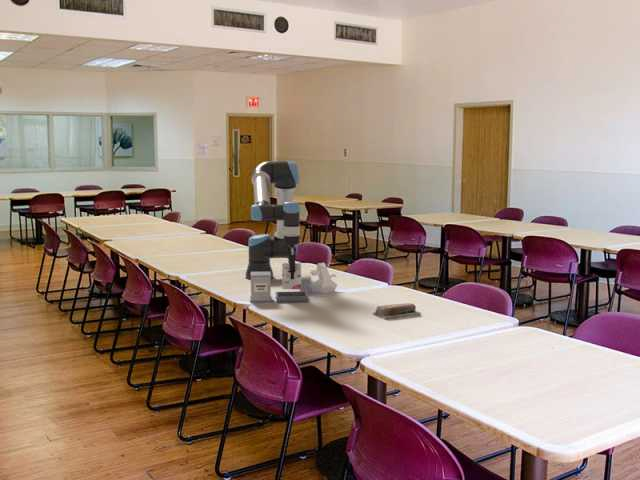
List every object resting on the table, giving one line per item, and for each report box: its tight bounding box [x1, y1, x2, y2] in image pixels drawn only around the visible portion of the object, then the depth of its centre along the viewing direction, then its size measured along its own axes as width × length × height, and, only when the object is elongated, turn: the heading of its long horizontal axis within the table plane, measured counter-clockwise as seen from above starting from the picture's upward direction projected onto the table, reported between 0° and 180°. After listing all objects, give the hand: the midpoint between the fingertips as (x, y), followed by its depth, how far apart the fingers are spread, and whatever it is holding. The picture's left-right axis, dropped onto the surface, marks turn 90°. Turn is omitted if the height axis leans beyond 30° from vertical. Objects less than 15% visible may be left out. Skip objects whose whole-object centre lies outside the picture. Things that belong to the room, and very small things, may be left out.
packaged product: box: [372, 302, 422, 320], centre depth 281 cm, size 18×5×10 cm
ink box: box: [281, 262, 302, 290], centre depth 308 cm, size 9×5×12 cm, turn 85°
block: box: [299, 274, 312, 294], centre depth 324 cm, size 5×5×8 cm
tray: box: [275, 290, 309, 303], centre depth 309 cm, size 12×15×2 cm
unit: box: [249, 272, 273, 303], centre depth 307 cm, size 10×10×13 cm
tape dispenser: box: [310, 262, 338, 294], centre depth 327 cm, size 8×14×14 cm, turn 126°
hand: (291, 284), depth 308 cm, fingers closed on ink box, 5 cm apart
